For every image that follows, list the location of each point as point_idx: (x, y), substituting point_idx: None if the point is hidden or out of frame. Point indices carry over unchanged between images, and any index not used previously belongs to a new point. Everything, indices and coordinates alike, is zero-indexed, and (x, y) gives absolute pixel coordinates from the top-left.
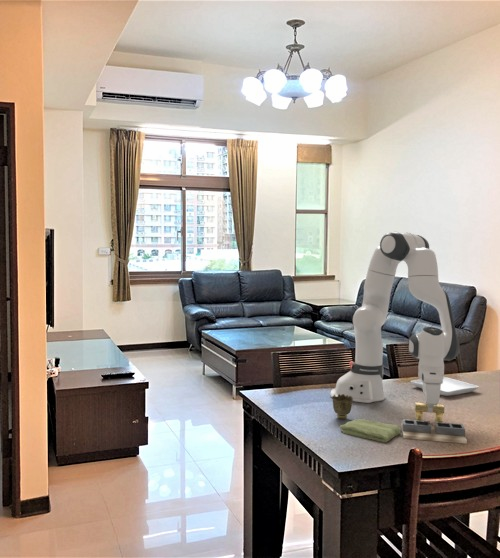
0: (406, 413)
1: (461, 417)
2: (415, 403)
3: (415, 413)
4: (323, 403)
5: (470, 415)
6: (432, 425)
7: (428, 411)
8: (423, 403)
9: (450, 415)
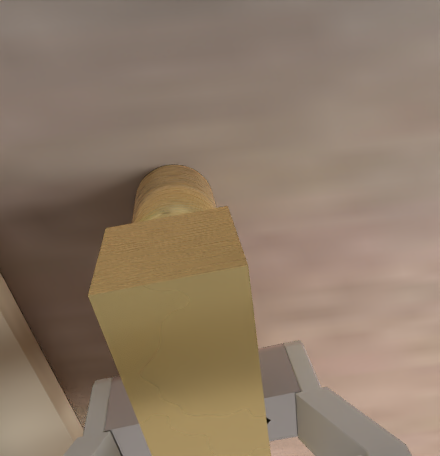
0: (426, 36)
1: (387, 428)
2: (184, 282)
3: (160, 204)
4: None
5: (436, 453)
6: (11, 346)
7: (95, 393)
8: (246, 380)
9: (420, 379)
